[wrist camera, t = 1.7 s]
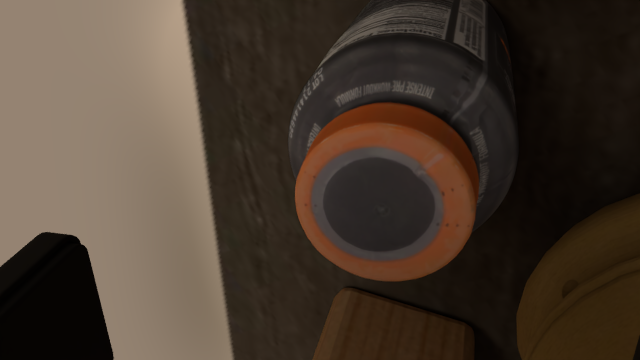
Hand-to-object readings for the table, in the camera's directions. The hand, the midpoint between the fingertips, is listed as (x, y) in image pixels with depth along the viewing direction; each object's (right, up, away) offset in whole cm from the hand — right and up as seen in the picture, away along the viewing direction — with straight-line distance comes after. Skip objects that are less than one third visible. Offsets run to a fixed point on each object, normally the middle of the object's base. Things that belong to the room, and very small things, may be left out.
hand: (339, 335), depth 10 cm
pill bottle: (+4, +7, +13) cm, 15 cm away
